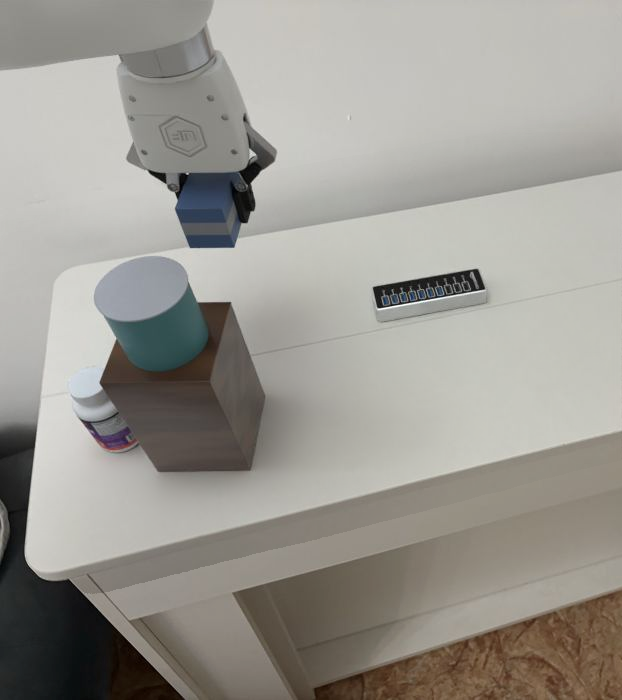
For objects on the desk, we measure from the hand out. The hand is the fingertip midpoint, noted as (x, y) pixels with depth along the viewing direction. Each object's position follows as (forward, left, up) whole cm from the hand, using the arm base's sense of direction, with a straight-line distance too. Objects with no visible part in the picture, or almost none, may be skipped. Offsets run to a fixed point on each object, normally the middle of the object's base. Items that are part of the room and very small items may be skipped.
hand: (221, 213), depth 74 cm
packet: (0, 0, 0) cm, 0 cm away
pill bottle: (-15, +13, -19) cm, 28 cm away
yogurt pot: (-15, +3, -3) cm, 15 cm away
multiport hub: (+5, -21, -19) cm, 29 cm away
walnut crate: (-15, +3, -19) cm, 24 cm away
